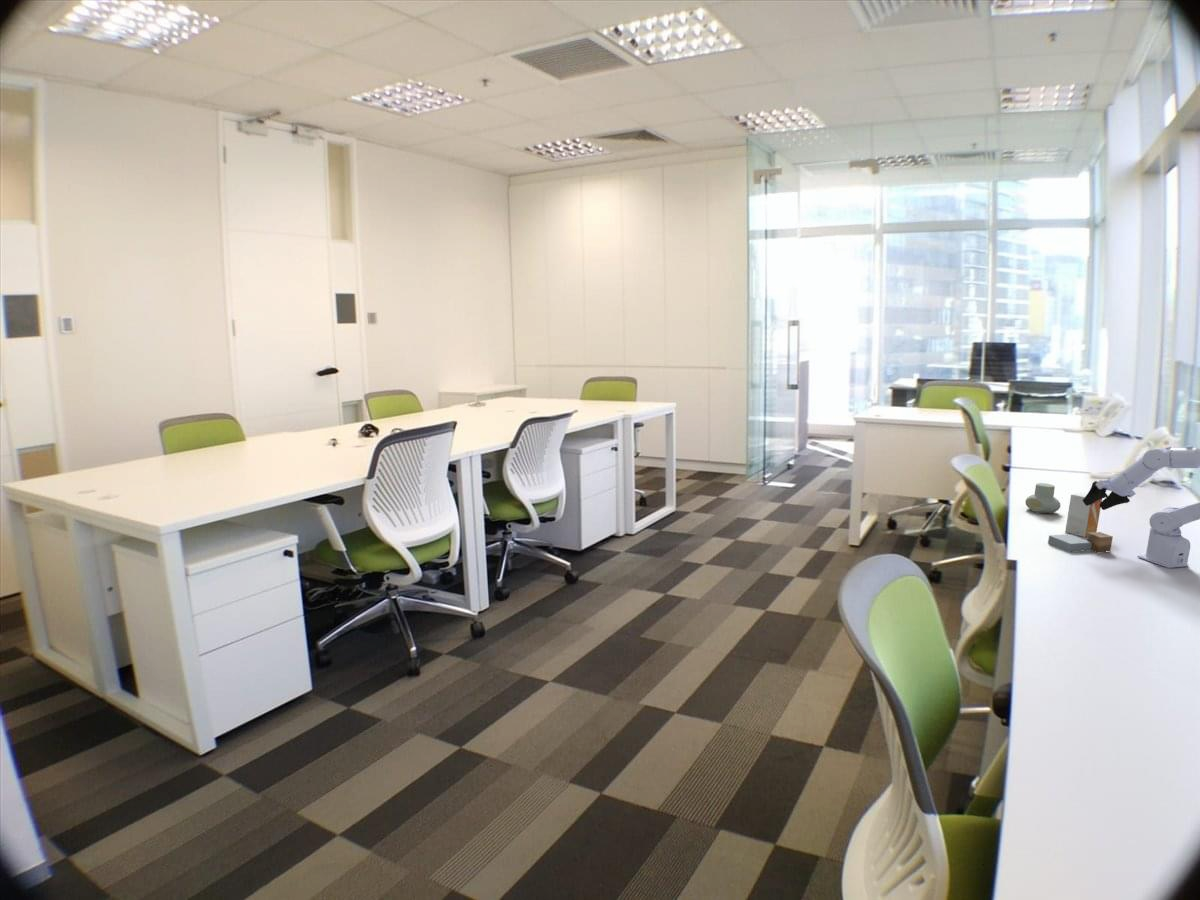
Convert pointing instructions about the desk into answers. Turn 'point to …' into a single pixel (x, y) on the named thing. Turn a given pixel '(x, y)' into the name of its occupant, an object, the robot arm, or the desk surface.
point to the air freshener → (1043, 499)
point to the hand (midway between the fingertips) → (1093, 505)
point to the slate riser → (1069, 542)
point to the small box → (1082, 515)
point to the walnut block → (1100, 541)
